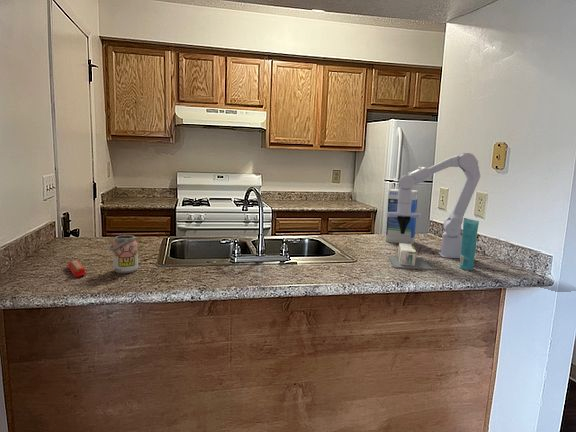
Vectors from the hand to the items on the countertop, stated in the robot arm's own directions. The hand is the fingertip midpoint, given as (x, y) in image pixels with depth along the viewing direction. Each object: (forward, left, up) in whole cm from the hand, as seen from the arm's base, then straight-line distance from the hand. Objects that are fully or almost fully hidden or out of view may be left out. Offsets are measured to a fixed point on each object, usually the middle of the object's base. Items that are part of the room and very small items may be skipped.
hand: (402, 233), depth 178 cm
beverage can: (+103, +49, -8) cm, 114 cm away
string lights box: (-3, -21, -8) cm, 23 cm away
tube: (-21, +22, -8) cm, 32 cm away
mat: (0, +19, -8) cm, 21 cm away
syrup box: (0, +9, -5) cm, 11 cm away
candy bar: (+118, +53, -9) cm, 130 cm away
